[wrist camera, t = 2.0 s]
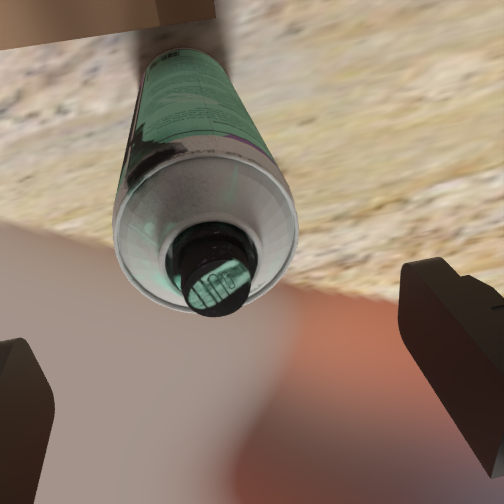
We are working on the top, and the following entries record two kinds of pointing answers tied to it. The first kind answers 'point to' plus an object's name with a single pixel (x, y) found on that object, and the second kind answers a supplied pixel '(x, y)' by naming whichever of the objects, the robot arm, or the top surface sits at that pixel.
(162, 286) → the spray can
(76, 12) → the walnut holder
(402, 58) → the top surface
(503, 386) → the robot arm
